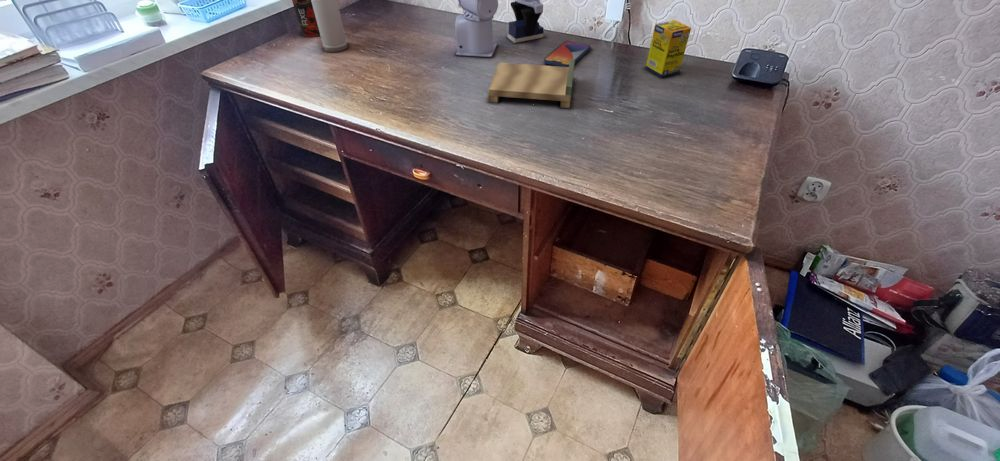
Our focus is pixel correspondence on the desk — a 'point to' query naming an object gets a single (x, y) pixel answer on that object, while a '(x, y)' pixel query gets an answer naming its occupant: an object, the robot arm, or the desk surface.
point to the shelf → (533, 82)
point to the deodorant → (306, 18)
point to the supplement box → (667, 48)
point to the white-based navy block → (523, 31)
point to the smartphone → (566, 53)
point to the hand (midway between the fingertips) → (525, 32)
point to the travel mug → (330, 25)
